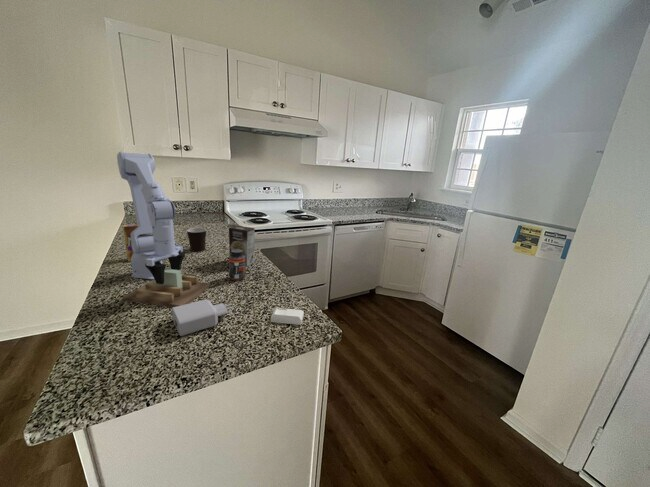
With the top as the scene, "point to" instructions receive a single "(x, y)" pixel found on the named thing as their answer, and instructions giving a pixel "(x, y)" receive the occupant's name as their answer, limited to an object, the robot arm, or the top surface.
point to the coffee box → (242, 242)
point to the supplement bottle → (236, 265)
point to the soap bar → (287, 316)
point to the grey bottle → (197, 316)
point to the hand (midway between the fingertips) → (168, 278)
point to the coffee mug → (197, 239)
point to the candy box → (129, 238)
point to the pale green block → (172, 278)
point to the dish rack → (168, 293)
